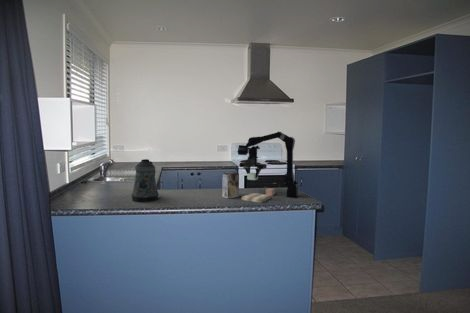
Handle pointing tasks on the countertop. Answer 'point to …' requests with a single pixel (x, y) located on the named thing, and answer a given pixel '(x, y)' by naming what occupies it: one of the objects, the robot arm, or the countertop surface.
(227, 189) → the coffee box
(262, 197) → the birch plinth
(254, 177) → the sage block
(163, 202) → the countertop surface
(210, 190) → the countertop surface
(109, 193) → the countertop surface
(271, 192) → the terracotta cube
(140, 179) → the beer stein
